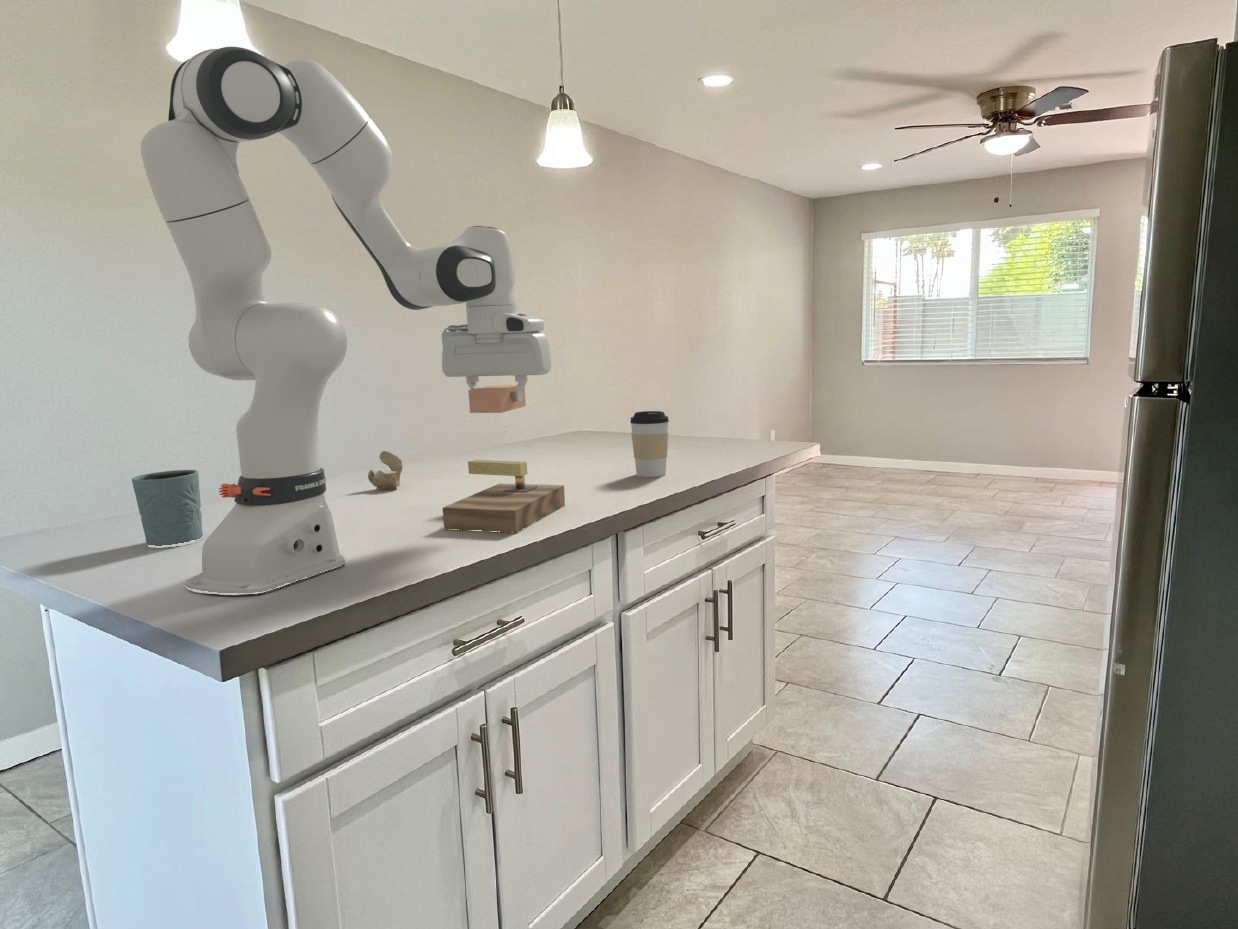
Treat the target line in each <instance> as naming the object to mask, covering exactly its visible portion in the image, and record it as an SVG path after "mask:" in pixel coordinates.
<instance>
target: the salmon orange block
mask: <svg viewBox="0 0 1238 929" xmlns="http://www.w3.org/2000/svg"><path fill="white" fill-rule="evenodd" d="M516 387H517V384H494V385H488V386H483V387H482V386H481V387H479V388H477V389H468V390H467V391H468V392H467V393H468V402H469V403H468V404H469V413H470V414H502V413H505V412H509V411H512V410H513V411H514V410H516V409H520V408H524V407H526V406H527V403H526V391H525V389H526V388H525V387H524V389H523V391H522V396H523V399H522V401H511V392H512V391H515V389H516Z"/></svg>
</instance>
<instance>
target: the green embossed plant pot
mask: <svg viewBox="0 0 1238 929" xmlns="http://www.w3.org/2000/svg"><path fill="white" fill-rule="evenodd" d="M199 476H200V475H199V471H198V470H196V469H180V470H178V469H177V470H176V469H175V470H168V471H167V470H166V471H165V470H164V471H158V472H151V473H145V474H140V475H136V476H134V477H132V478H131V482H132V487H133V491H134V492H133V493H134V494H135V495H134V496H135V499H136V504H137V507H138V511H139V512H138V513H139V515H140V518H141V519H140V520H141V525H142V528H143V533H144V536H145V537H144V538H145V541H146V542H145V543H146V545H147V544H148V545H155V546H162V545H172V544H178V543H184V542H189V541H191V540H197V539H200V538H201V537H202V536H203V537H204V535H203V520H202V510H201V508H202V507H201V506H202V504H201V491H200V490H201V489H200V477H199Z"/></svg>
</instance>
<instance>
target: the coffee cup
mask: <svg viewBox="0 0 1238 929" xmlns="http://www.w3.org/2000/svg"><path fill="white" fill-rule="evenodd" d="M669 422H670V420H669V416H668V415H666V413H665V412H664V411H662V410H660V411H659V410H650V411H649V410H644V411H638V412H634V414H633V416H631V417H630V426H631V442H632V443H631V444H632V451H633V457H634V463H635V464H634V465H635V471H636V476H637V477H639V478H659V477H664V476H666V473H667V458H668V449H669V448H668V447H669V446H668V444H669Z"/></svg>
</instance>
